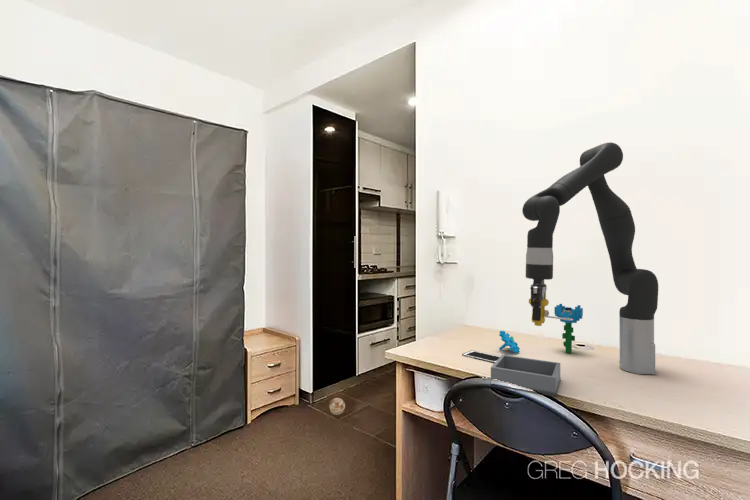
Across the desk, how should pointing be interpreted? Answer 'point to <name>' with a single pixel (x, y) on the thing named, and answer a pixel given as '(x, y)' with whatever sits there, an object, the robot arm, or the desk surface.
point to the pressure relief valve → (545, 313)
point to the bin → (528, 373)
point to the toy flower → (568, 323)
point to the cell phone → (481, 356)
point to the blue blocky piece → (509, 342)
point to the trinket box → (337, 406)
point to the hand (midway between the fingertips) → (538, 318)
